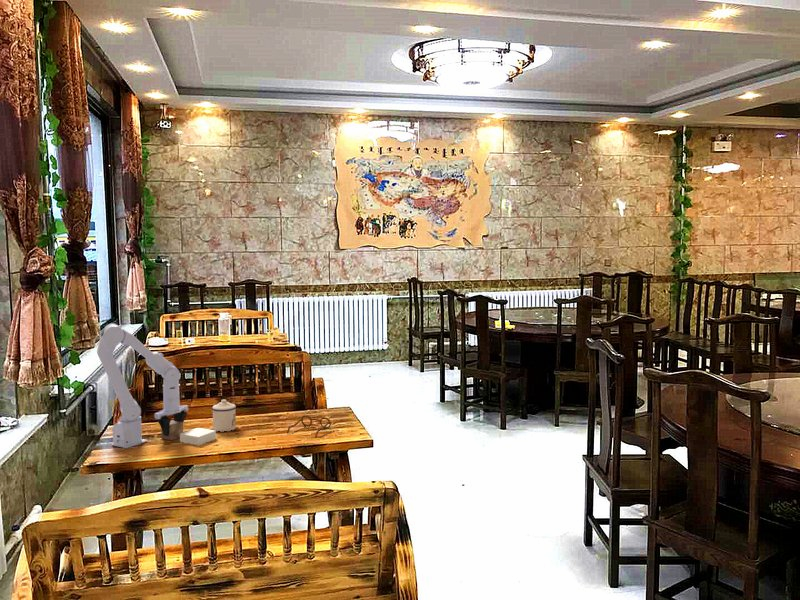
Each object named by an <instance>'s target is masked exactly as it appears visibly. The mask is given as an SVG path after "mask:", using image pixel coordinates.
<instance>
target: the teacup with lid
mask: <svg viewBox="0 0 800 600" xmlns="http://www.w3.org/2000/svg"><path fill="white" fill-rule="evenodd" d="M236 408H237V405H236V404H234V403H231V402H230V401H227V399H221V401H220V402H218V403H216V404H214V405H213V406H212V408H211V409H212V430H215V431H216V432H218V431H220V433H222V432H223V433H224V431H227V432H231V430H232V431H234V430H236V428H237V422H236V420H237V419H236Z"/></svg>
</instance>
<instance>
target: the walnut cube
mask: <svg viewBox="0 0 800 600" xmlns="http://www.w3.org/2000/svg"><path fill="white" fill-rule="evenodd" d="M160 429H161V428H160ZM160 431H161V433H160V434H161V436H160V437H161V439H164V440H169V441H173V440H176V439H180V434H181V433H184V422H180V421H175V420H173V419H171V421H170V425H169V436H164V435H163V432H162V429H161V430H160Z"/></svg>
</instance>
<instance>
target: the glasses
mask: <svg viewBox="0 0 800 600" xmlns="http://www.w3.org/2000/svg"><path fill="white" fill-rule="evenodd" d="M304 418H308V419H309V421H310V422H309V424H306V423H304V422H305V421H304ZM323 420H326V421H328V422H326V423H325V424H324V425H323V423H322V421H323ZM313 421H316V422H319V424H320V426H321V428H319V429H317V430H316V433H315V435H314V438H315V439H316V438H317V437H318V434H319V432H321V431H323V430H325V429H326V428H328V429H330V428H331V426H332V422H331V420H330V419H329V418H328V417H326V416H325V417H322V418H320V419H319V418H311V417H310V416H309V415H307V414H305V415H303V416H301V417H300V418H299V420H298V421H297V422H295V423H294V424H293V425H290V426H288V427H287V431H286V433H288V434H289V432H290V429H291V428H293V427H296V426H297V425H298V424H299V423H300V422H301V424H302V425H303V426H304V427H311V426H312V425H313V424H312V423H313Z"/></svg>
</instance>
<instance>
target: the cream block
mask: <svg viewBox="0 0 800 600" xmlns="http://www.w3.org/2000/svg"><path fill="white" fill-rule="evenodd" d="M216 439H217V431H215V430H213V429H209V428H208V429H207V428H203V427H202V428H201V427H195V428H192V429H189V430H187V431H183V433H181V434H180V438H179V442H180V443H182V442H184V443H183V444H188V443H190V444H189V445H193V444H194V446H202V445H203V443H204V444H207V443H210V442H211V440H212V441H214V440H216ZM206 442H207V443H206Z"/></svg>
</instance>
